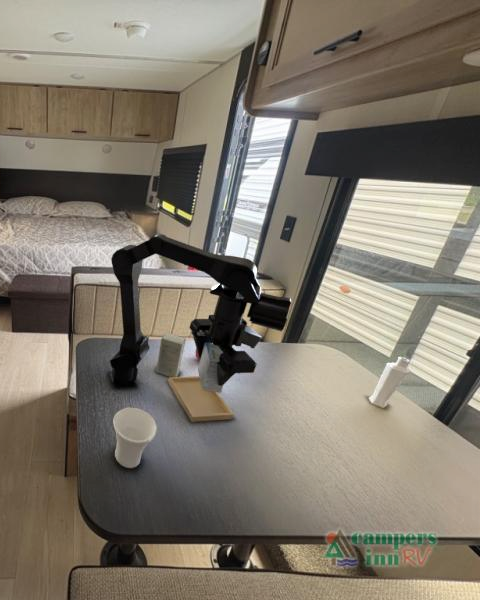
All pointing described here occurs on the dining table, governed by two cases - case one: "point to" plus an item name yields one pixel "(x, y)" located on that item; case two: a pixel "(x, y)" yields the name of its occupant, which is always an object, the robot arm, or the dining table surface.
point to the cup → (132, 435)
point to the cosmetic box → (170, 355)
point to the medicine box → (209, 368)
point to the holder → (199, 400)
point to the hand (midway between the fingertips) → (210, 372)
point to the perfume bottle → (390, 381)
